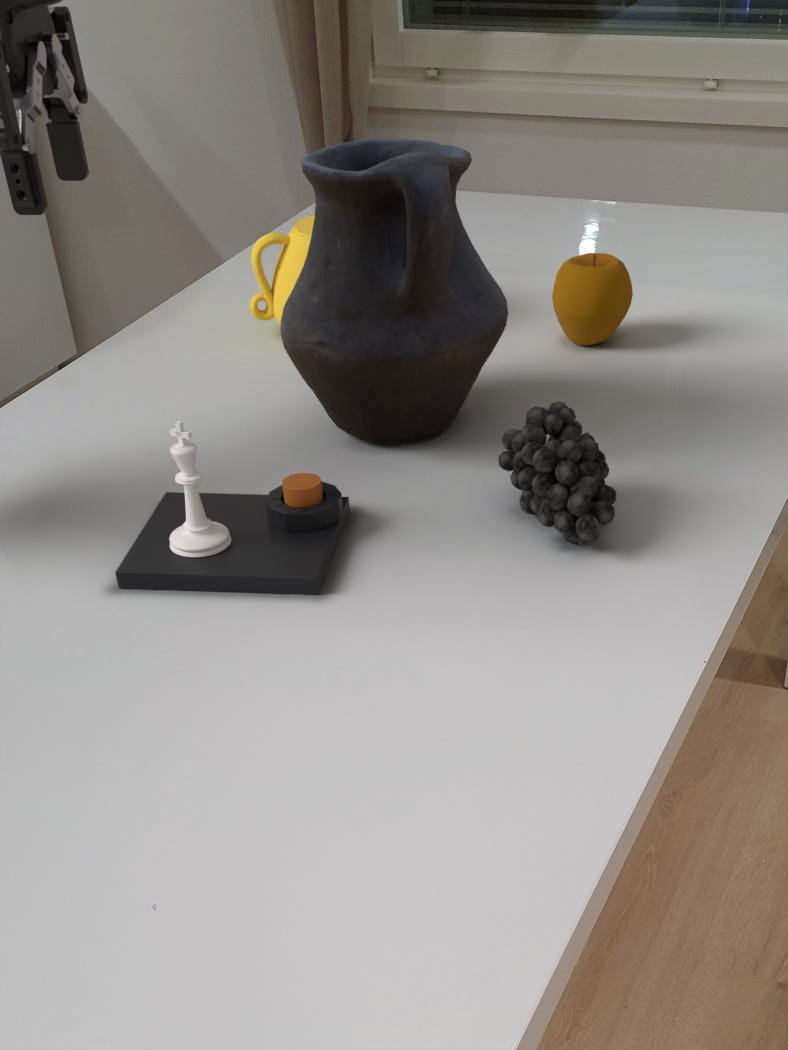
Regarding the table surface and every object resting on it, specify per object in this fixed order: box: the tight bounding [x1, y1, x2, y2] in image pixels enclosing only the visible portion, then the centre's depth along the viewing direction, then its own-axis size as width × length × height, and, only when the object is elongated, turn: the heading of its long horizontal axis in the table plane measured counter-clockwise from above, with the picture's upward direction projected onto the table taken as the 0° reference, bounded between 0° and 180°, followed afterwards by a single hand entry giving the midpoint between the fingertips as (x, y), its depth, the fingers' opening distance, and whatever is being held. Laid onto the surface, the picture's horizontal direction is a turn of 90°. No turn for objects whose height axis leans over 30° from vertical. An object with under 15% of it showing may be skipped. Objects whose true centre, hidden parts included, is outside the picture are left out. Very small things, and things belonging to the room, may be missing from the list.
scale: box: [114, 480, 351, 595], centre depth 105 cm, size 16×14×3 cm
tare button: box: [281, 472, 323, 507], centre depth 105 cm, size 3×3×2 cm
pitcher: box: [280, 137, 509, 444], centre depth 115 cm, size 21×22×25 cm
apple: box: [551, 252, 634, 346], centre depth 136 cm, size 8×8×9 cm
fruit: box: [498, 401, 617, 547], centre depth 105 cm, size 9×8×15 cm
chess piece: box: [168, 420, 231, 558], centre depth 100 cm, size 5×5×10 cm
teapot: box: [249, 214, 315, 327], centre depth 141 cm, size 20×19×13 cm
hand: (53, 196), depth 91 cm, fingers open, 8 cm apart
